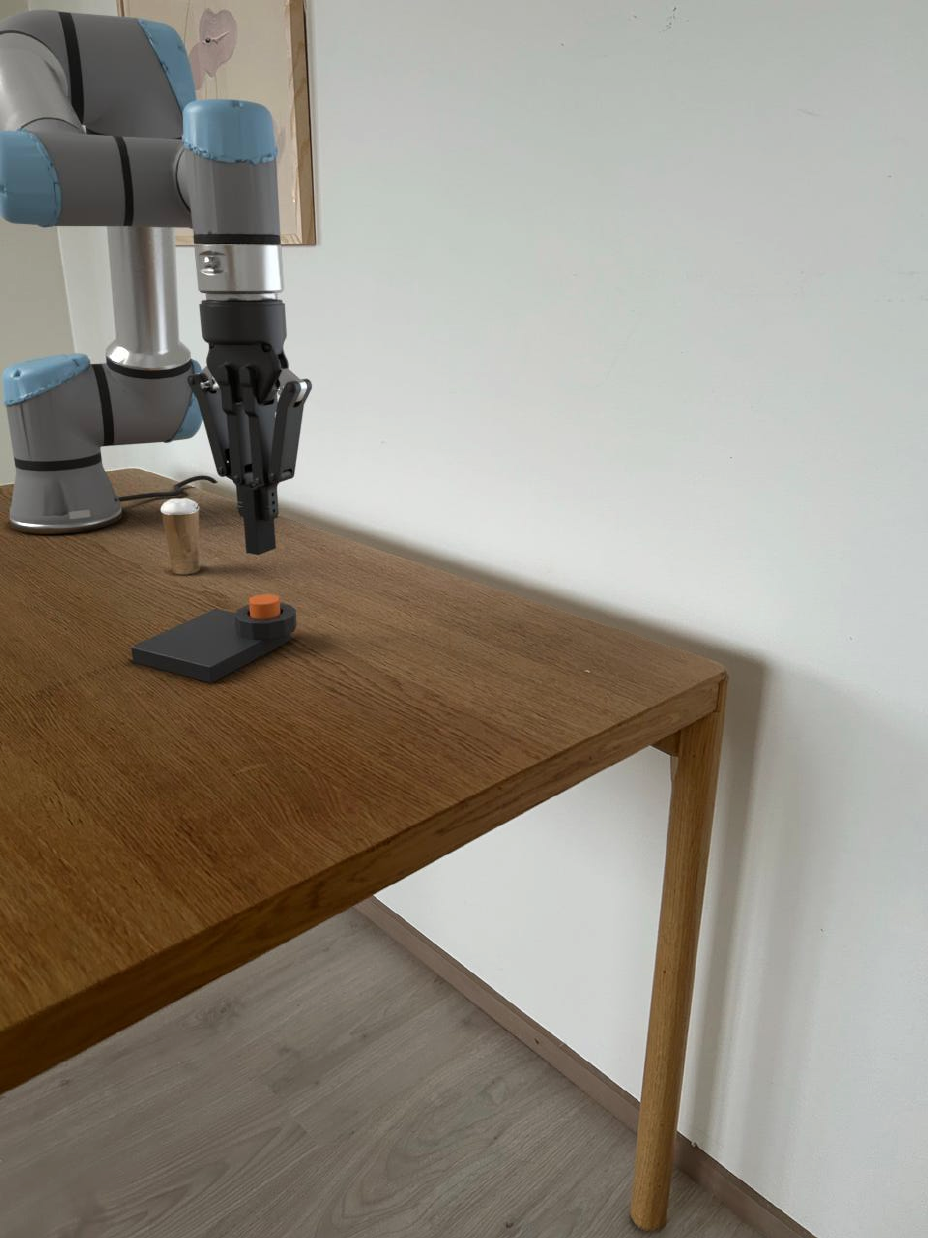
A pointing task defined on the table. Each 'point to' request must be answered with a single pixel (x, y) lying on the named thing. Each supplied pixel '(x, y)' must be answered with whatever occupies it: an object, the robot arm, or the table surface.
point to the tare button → (264, 606)
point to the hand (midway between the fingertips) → (261, 550)
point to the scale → (215, 643)
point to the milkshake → (182, 534)
